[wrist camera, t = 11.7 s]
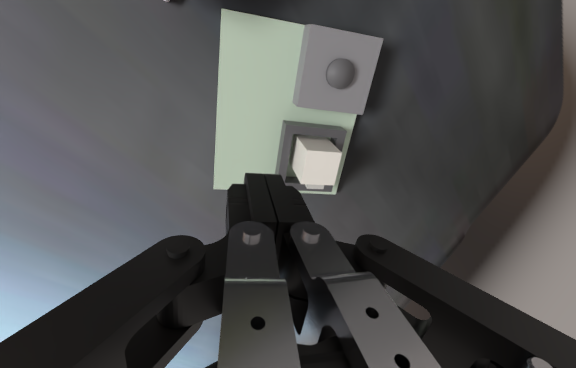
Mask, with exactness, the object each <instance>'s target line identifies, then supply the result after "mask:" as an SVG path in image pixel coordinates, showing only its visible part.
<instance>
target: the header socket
mask: <svg viewBox="0 0 576 368" xmlns="http://www.w3.org/2000/svg"><path fill="white" fill-rule="evenodd" d="M346 133H347V131H346V130H345V129H344V128H342V127H341V126H332V125H323V124H314V123H305V122H296V121H286V120H283V123H282V129H281V136H280V143H279V149H278V156H277V163H276V170H275V174H281V176H282V178H283V181H284V183H285V185H286V186H293V187H294V188H295V189H297V190H298V191H320V192H332V188H333V185H324V189H307V188H306V186H305V184H301V183H300V181H299V180H298V178H297V177H290V176H286V173H287V167H288V161H289V155H290V149H291V143H292V137H293V134H299V135H310V136H320V137H330V138H331V140H330V142H332V143H333V144H334V145H335V146H336V147H337V148H338V149H339V150H340V151H341V152H342V149H343V145H344V141H345V137H346Z"/></svg>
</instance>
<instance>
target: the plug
mask: <svg viewBox="0 0 576 368" xmlns="http://www.w3.org/2000/svg"><path fill="white" fill-rule="evenodd" d="M341 155H342V152H341V151H340V150H339V149H338V148H337V147H336V146H335V145H334V144H333V143H332V142H330V141H329V140H328V139H327V138H326V137H320V136H310V135H299V134H294V141H293V147H292V153H291V160H290V164H291V166H292V168H293V170H294V172H295V174H296V176H297V178H298V180H299V181H300V183H301V184H305V186H306V188H307V189H324V185H334V184H335V180H336V176H337V172H338V168H339V164H340V160H341Z"/></svg>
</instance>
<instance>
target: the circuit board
mask: <svg viewBox="0 0 576 368" xmlns="http://www.w3.org/2000/svg"><path fill="white" fill-rule="evenodd" d="M382 43H383V38H378V37H373V36H368V35H363V34H358V33H353V32H348V31H343V30H338V29H333V28H328V27H324V26H319V25H314V24H308V25H302V24H297V23H292V22H287V21H282V20H277V19H272V18H267V17H262V16H257V15H252V14H247V13H242V12H237V11H232V10H227V9H222V10H221V32H220V54H219V76H218V98H217V121H216V143H215V165H214V187H213V189H224V190H228V189H229V187H230V186H231V185H232V184H244V177H245V173H262V174H275V170H276V163H277V156H278V149H279V143H280V136H281V129H282V123H283V120H286V121H296V122H305V123H314V124H323V125H332V126H341V127H342V128H344V129H345V130H346V131H347V133H346V137H345V141H344V145H343V149H342V155H341V160H340V164H339V168H338V172H337V176H336V180H335V184H334V185H333V188H332V192H320V191H299V192H300V193H316V194H336V192H337V188H338V184H339V180H340V176H341V173H342V169H343V165H344V161H345V157H346V154H347V150H348V146H349V142H350V138H351V134H352V131H353V127H354V123H355V119H356V115H357V114H359V115H363V112H364V109H365V105H366V101H367V98H368V94H369V90H370V87H371V83H372V79H373V76H374V72H375V68H376V65H377V61H378V57H379V54H380V50H381V46H382ZM326 138H327V139H328V140H329V141H330V140H331V138H330V137H326ZM293 141H294V134H293V137H292V143H291V149H290V155H289V161H288V167H287V173H286V176H290V177H297V176H296V174H295V172H294V170H293V168H292V166H291V164H290V160H291V153H292V147H293Z"/></svg>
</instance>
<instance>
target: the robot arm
mask: <svg viewBox="0 0 576 368" xmlns="http://www.w3.org/2000/svg"><path fill="white" fill-rule="evenodd" d="M387 285H389V286H390V287H392V288H394V289H395V290H397V291H398V292H400V293H402V294H403V295H405V296H406V297H408V298H410V299H411V300H413V301H415V302H416V303H418V304H419V305H421V306H423V307H424V308H425V309H427V310H428V312H429V313H430V315H431V317H430V318H429V319H428V320H419V319H417V318H415V317H414V316H412V315H411V314H409V313H408V312H406V311H405V310H403V309H401V308H400V307H398V306H397V305H396V304H395V303H394V301H393V300H392V298H391V297H390V296H389V294H388V293H387V292H386V290H385V289H386V287H387ZM219 314H222V319H221V330H220V342H219V354H218V361H217V362H214V363H213V364H211V365H209V366H207V367H205V368H576V340H575V339H573V338H571V337H569V336H567V335H565V334H564V333H562V332H560V331H558V330H556V329H554V328H552V327H550V326H548V325H547V324H545V323H543V322H541V321H539V320H537V319H535V318H533V317H531V316H529V315H528V314H526V313H524V312H522V311H520V310H518V309H516V308H515V307H513V306H511V305H509V304H507V303H505V302H503V301H501V300H499V299H498V298H496V297H494V296H492V295H490V294H488V293H486V292H484V291H482V290H481V289H479V288H477V287H475V286H473V285H471V284H469V283H467V282H465V281H464V280H462V279H460V278H458V277H456V276H454V275H452V274H450V273H448V272H447V271H445V270H443V269H441V268H439V267H437V266H435V265H433V264H432V263H430V262H428V261H426V260H424V259H422V258H420V257H418V256H416V255H415V254H413V253H411V252H409V251H407V250H405V249H403V248H401V247H399V246H398V245H396V244H394V243H392V242H390V241H388V240H386V239H384V238H382V237H379V236H376V235H369V234H368V235H362V236H360V237H358V239H357V241H356V244H355V245H353V244H348V243H343V242H339V241H335V240H334V238H333V237H332V235H331V234H330V232H329V231H328V230H327V229H326V228H325V227H323V226H321V225H319V224H317V223H315V222H314V220H313V218H312V216H311V214H310V212H309V210H308V208H307V206H306V204H305V202H304V200H303V198H302V195H301V193H300V192H299V191H298V190H297V189H295V188H294V187H293V186H286V185H285V183H284V181H283V178H282V176H281V174H262V173H245V177H244V184H232V185H231V186H230V187H229V189H228V192H227V207H226V236H225V237H224V238H223V239H221V240H219V241H217V242H215V243H212V244H208V245H204V244H203V243H202V242H201V241H200V240H198V239H197V238H194V237H191V236H186V235H178V236H172V237H168V238H165V239H163V240H161V241H159V242H158V243H156V244H155V245H153V246H152V247H150V248H148V249H147V250H145V251H144V252H142V253H141V254H139V255H137V256H136V257H134V258H133V259H131V260H130V261H128V262H126V263H125V264H123V265H122V266H120V267H119V268H117V269H115V270H114V271H112V272H111V273H109V274H108V275H106V276H104V277H103V278H101V279H100V280H98V281H97V282H95V283H93V284H92V285H90V286H89V287H87V288H85V289H84V290H82V291H81V292H79V293H78V294H76V295H74V296H73V297H71V298H70V299H68V300H67V301H65V302H63V303H62V304H60V305H59V306H57V307H56V308H54V309H52V310H51V311H49V312H48V313H46V314H45V315H43V316H41V317H40V318H38V319H37V320H35V321H34V322H32V323H30V324H29V325H27V326H26V327H24V328H23V329H21V330H19V331H18V332H16V333H15V334H13V335H12V336H10V337H8V338H7V339H5V340H4V341H2V342H1V343H0V368H165V367H166V365H167V364H168V363H169V362H170V361H171V360H172V359H173V358H174V356H175V355H176V354H177V353H178V352H179V351H180V350H181V349H182V348H183V346H184V345H185V344H186V343H187V342H188V341H189V340H190V339H191V337H192V336H193V335H194V334H195V333H196V332H197V331H198V329H199V328H200V327H201V325H202V322H203V321H204V320H206V319H209V318H212V317H214V316H217V315H219Z"/></svg>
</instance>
